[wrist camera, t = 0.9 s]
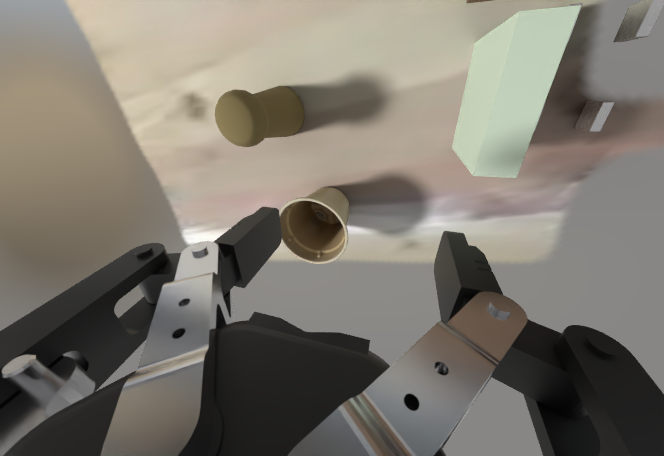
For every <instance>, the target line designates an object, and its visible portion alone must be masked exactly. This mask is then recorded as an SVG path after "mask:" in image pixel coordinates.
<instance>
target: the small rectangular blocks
mask: <svg viewBox="0 0 664 456" xmlns="http://www.w3.org/2000/svg"><path fill="white" fill-rule="evenodd" d="M582 4H583V3H580V4H571V5H569V6H577V5H581V7H582ZM663 6H664V0H643V1H641V2H638V3H636V4H633V5H631V6H629V9H628V11H627V13H626V15H625V18H624V20H623V22H622V24H621V26H620V29H619V31H618V33H617V35H616V37H615V40H614V42H622V41H629V40H633V39H638V38H642V37H646V36H649V34H650V32H651V30H652V28H653V26H654V24H655V22H656V20H657V18H658V16H659V14H660V12H661V10H662V8H663ZM581 7H580V10H581ZM580 10H579V12H580ZM578 15H579V13H578ZM578 15H577V18H578ZM577 18H576V20H577ZM575 23H576V21H575ZM575 23H574V26H575ZM574 26H573V28H574ZM572 31H573V29H572ZM572 31H571V33H572ZM570 36H571V34H570ZM569 39H570V37H569ZM569 39H568V41H569ZM614 103H615V102H600V101H586V103H585V106H584V108H583V110H582V112H581V114H580V117H579V119H578V121H577V123H576V125H575V128H577V129H581V130H586V131H600V130H601V128H602V126H603V124H604V122H605V120H606V118H607V117H608V115H609V113H610V111H611V109H612V107H613V105H614ZM544 105H545V103H544ZM543 108H544V106H543ZM543 108H542V110H543ZM541 113H542V111H541ZM540 116H541V114H540ZM540 116H539V118H540ZM538 121H539V119H538ZM537 123H538V122H537ZM536 126H537V124H536ZM535 129H536V127H535ZM534 131H535V130H534Z"/></svg>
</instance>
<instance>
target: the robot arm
mask: <svg viewBox="0 0 664 456" xmlns="http://www.w3.org/2000/svg"><path fill="white" fill-rule="evenodd" d="M281 240H282V230H281V222H280V214H279V210H278V209H277V208H270V207H261V208H260V209H259V210H258V211H256V212H255V213H254V214H252V215H250V216H248V217H246V218H243V219H242V220H241V221H239V222H238V223H237V225H234V226H233V227H232V228H231V229H229V230H228V231H227V232H226V233H224V234H223V235H222V236H220V237H219V238H218V239H217V240H215V241H214V242H209V241H206V242H199V243H196V244H193V245H191V246H189V247H187V248H186V249H185V250H183V251H182V253H175V254H174V253H173V254H167V252H166V250H165V247H164V245H162V244H159V243H150V244H145V245H142V246H139V247H136V248H134V249H132V250H130V251H129V252H127V253H126V254H124V255H122V256H121V257H119V258H118V259H116V260H114V261H113V262H111V263H109V264H108V265H106V266H105V267H103V268H101V269H100V270H98V271H97V272H95V273H93V274H92V275H90V276H89V277H87V278H85V279H84V280H82V281H80V282H79V283H77V284H76V285H74V286H72V287H71V288H69V289H68V290H66V291H64V292H63V293H61V294H60V295H58V296H56V297H55V298H53V299H52V300H50V301H48V302H47V303H45V304H43V305H42V306H40V307H39V308H37V309H35V310H34V311H32V312H31V313H29V314H27V315H26V316H24V317H23V318H21V319H19V320H18V321H16V322H14V323H13V324H11V325H10V326H8V327H6V328H5V329H3V330H2V331H0V456H446V454H445V453H444V451H443V448H444V446H445V445H446V443H447V442H448V440H449V439H450V437H451V436H452V435H453V433H454V431H455V430H456V429H457V427H458V425H459V424H460V423H461V421H462V420H463V418H464V417H465V415H466V414H467V412H468V411H469V409H470V408H471V406H472V405H473V403H474V402H475V401H476V399H477V398H478V396H479V395H480V393H481V392H482V390H483V389H484V387H485V386H486V384H487V383H488V381H489V380H490V379H491V377H493V378H495V379H496V380H498V381H500V382H502V383H504V384H506V385H508V386H509V387H512V388H513V389H515V390H517V391H519V392H521V393H523V394H524V397H525V400H526V403H527V407H528V410H529V412H530V416H531V419H532V422H533V425H534V428H535V431H536V434H537V438H538V440H539V444H540V447H541V450H542V453H543V456H664V394H663V393H662V392H661V390H660V389H659V388H658V386H657V385H656V384H655V383H654V381H653V380H652V379H651V378H650V376H649V375H648V374H647V372H646V371H645V370H644V368H643V367H642V366H641V365H640V363H639V362H638V361H637V360H636V358H635V357H634V356H633V355H632V354H631V353H630V352H629V351H628V350H627V349H626V348H625V347H624V346H622V345H621V344H620V343H619V342H617V341H616V340H614V339H613V338H611V337H609V336H608V335H605V334H604V333H602V332H599V331H597V330H595V329H592V328H589V327H585V326H580V325H571V326H568V327H567V328H566V329H565V330H564V331H563V332H562V333H559V332H557V331H554V330H552V329H549V328H547V327H544V326H542V325H539V324H537V323H535V322H532V321H530V320H528V319H527V315H526V313H525V311H524V310H523V309H522V308H521V307H520V306H519V305H518V304H517V303H516V302H514V301H513V300H511V299H510V298H508V297H506V296H504V295H503V293H502V291H501V289H500V287H499V285H498V282H497V280H496V278H495V276H494V274H493V272H491V267H490V265H489V264H488V261H487V259H486V257H485V255H484V254H483V253H482V252H481V251H480V250H479V249H478V248H477V247H476V246H470V245H468V243H467V240H466V238H465V235H464V234H463V233H457V232H450V231H444V232H443V235H442V238H441V241H440V245H439V248H438V252H437V255H436V259H435V264H434V274H435V282H436V288H437V295H438V302H439V308H440V315H441V321H440V322H438V323H437V324H436V325H435V326H433V327H432V328H431V329H430V330H429V331H428V332H427V333H426V334H425V335H424V336H423V337H422V338H420V339H419V340H418V341H417V342H416V343H415V344H414V345H413V346H412V347H411V348H410V349H409V350H408V351H406V352H405V353H404V354H403V355H402V356H401V357H400V358H399V359H398V360H397V361H396V362H395V363H393V364H392V365H391V366H389V365H388V364H387V363H386V362H385V361H384V360H383V359H381V358H380V357H379V356H377V355H376V354H374V353H372V352H371V351H369V343H370V340H366V339H363V338H359V337H355V336H351V335H347V334H343V333H331V332H330V333H329V332H328V333H326V332H305V331H303V330H301V329H299V328H297V327H296V326H294V325H292V324H290V323H288V322H287V321H285V320H283V319H281V318H278V317H274V316H269V315H266V314H262V313H258V312H254V313H253V315H252V317H251V318H250V319H249V321H239V322H234V321H233V301H232V300H233V299H232V291H231V288H232V287H233V286H237V287H242V288H245V287H246V286H247V284H248V283H249V282H250V281H251V279H252V278H253V277H254V276H255V275H256V273H257V272H258V271H259V270H260V268H261V267H262V266H263V265H264V264H265V262H266V261H267V260H268V259H269V258H270V256H271V255H272V254H273V253H274V251H275V250H276V249H277V248H278V247H279V245H280V243H281ZM137 285H138V286H139V288H140V289H141V291H142V293H143V295H144V297H143V298H142V299H141V300H140V301H138V302H137V303H136V304H135V305H134V306H132V307H131V308H130V309H129V310H128V311H127V312H125V313H124V314H123V315H122V316H121V317H119V318H117V316H116V315H115V313H114V307H115V305H116V303H117V301H118V300H119V299H120V298H122V297H123V296H124V295H126V294H127V293H128V292H130V291H131V290H132V289H133V288H135V287H136V286H137ZM145 340H146V343H145V346H144V349H143V352H142V355H141V359H140V362H139V366H138V368H137V370H136V371H134V372H132V373H131V374H129V375H127V376H125V377H123V378H121V379H119V380H117V381H115V382H114V383H111V384H110V385H108V386H106V387H104V388H102V389H100V390H98V391H96V390H97V389H98V388H99V387H100V386H101V385H102V384H103V383H104V382H105V381H106V380H107V379H108V378H109V377H110V376H111V375H112V374H113V373H114V372H115V370H117V369H118V368H119V366H121V364H123V363H124V361H125V360H126V359H127V358H128V357H129V356H130V355H131V354H132V353H133V352H134V351H135V350H136V349H137V348H138V347H139V346H140V345H141V344H142V343H143V342H144V341H145ZM95 391H96V392H95Z"/></svg>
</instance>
